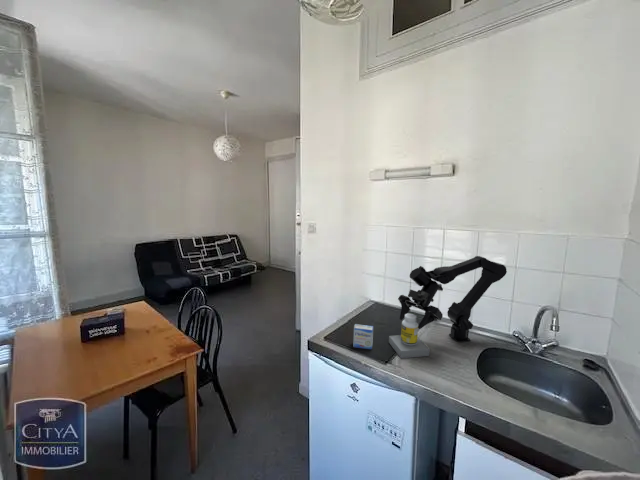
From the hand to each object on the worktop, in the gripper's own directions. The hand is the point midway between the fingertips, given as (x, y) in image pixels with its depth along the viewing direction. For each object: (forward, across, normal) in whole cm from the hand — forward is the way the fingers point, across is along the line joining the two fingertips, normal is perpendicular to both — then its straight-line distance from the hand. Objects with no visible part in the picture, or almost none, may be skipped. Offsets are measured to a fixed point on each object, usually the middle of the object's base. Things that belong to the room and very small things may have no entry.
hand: (409, 323), depth 115 cm
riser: (+8, 0, +8) cm, 11 cm away
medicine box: (+18, -12, -2) cm, 22 cm away
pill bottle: (+6, 0, +6) cm, 8 cm away
